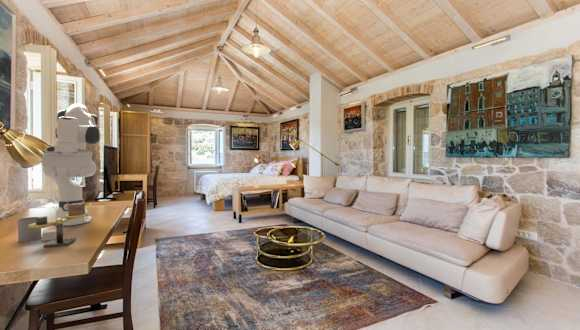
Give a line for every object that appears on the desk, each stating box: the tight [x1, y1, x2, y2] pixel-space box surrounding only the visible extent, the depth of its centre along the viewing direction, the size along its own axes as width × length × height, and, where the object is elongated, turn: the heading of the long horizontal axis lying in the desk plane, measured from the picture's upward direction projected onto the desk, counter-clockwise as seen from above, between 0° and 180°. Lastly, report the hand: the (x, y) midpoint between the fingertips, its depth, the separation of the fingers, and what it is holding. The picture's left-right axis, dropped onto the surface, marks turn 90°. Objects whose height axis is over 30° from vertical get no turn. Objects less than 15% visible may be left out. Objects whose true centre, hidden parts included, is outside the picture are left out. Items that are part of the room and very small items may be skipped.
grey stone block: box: [42, 228, 57, 242], centre depth 138 cm, size 5×5×4 cm
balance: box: [28, 212, 90, 249], centre depth 130 cm, size 9×22×14 cm, turn 110°
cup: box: [17, 216, 42, 242], centre depth 138 cm, size 8×8×10 cm
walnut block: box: [68, 202, 86, 216], centre depth 132 cm, size 5×5×5 cm
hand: (68, 176), depth 140 cm, fingers open, 8 cm apart
